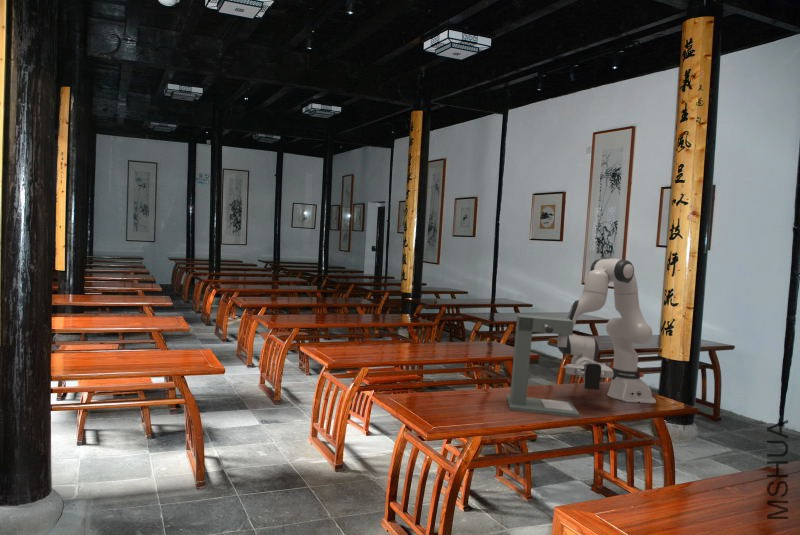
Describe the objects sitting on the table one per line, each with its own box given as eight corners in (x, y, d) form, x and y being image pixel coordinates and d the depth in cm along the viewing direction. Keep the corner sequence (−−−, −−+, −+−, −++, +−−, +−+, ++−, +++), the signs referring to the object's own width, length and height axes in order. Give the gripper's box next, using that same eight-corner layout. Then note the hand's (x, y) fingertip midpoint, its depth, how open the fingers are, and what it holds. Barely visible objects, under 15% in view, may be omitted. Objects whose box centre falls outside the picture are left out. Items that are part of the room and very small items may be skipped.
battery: (596, 388, 261) (599, 362, 260) (599, 390, 257) (602, 364, 256) (581, 386, 261) (583, 361, 260) (583, 389, 257) (586, 363, 256)
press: (570, 404, 270) (578, 318, 268) (582, 422, 242) (591, 326, 241) (506, 398, 273) (514, 312, 271) (511, 415, 245) (519, 320, 243)
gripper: (563, 359, 272) (568, 365, 258) (608, 363, 270) (616, 370, 256) (562, 372, 272) (567, 379, 259) (607, 377, 270) (615, 384, 257)
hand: (592, 374), depth 258 cm, fingers closed on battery, 7 cm apart
